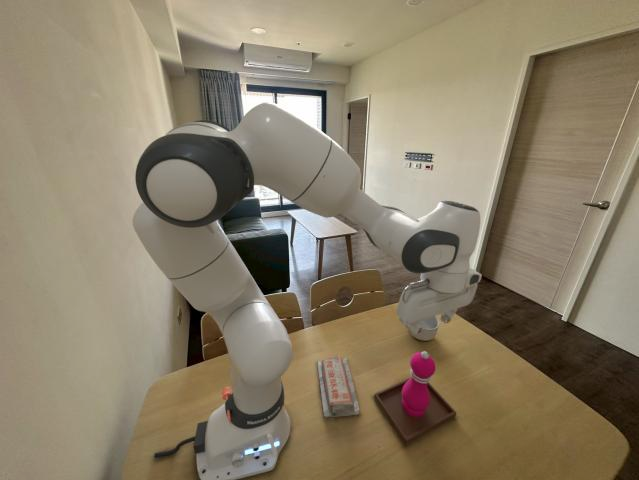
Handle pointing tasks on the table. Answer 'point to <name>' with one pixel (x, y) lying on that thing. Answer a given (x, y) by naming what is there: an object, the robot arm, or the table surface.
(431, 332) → the teacup
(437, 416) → the tray
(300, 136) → the robot arm
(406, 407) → the pepper mill
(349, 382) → the packaged product
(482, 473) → the table surface
